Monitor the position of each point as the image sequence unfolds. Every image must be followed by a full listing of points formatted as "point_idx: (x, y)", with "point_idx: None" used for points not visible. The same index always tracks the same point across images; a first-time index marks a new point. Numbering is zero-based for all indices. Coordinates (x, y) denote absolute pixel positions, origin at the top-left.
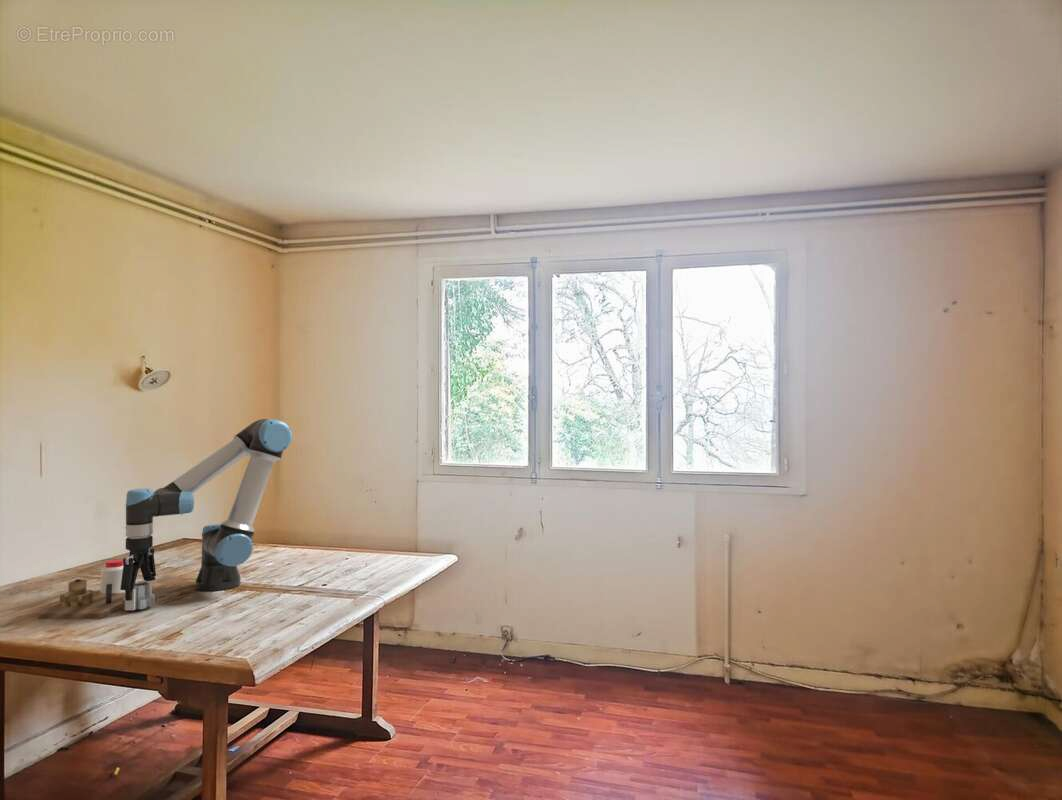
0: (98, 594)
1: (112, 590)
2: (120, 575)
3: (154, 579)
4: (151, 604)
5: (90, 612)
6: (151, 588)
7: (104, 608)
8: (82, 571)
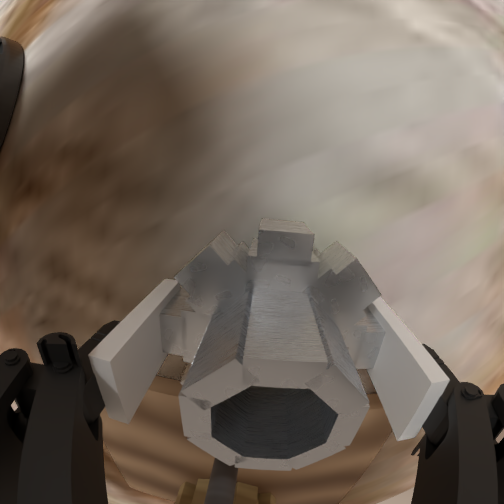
0: (129, 470)
1: None
2: None
3: (61, 336)
4: (302, 223)
5: (373, 443)
6: (127, 316)
7: None
8: None
